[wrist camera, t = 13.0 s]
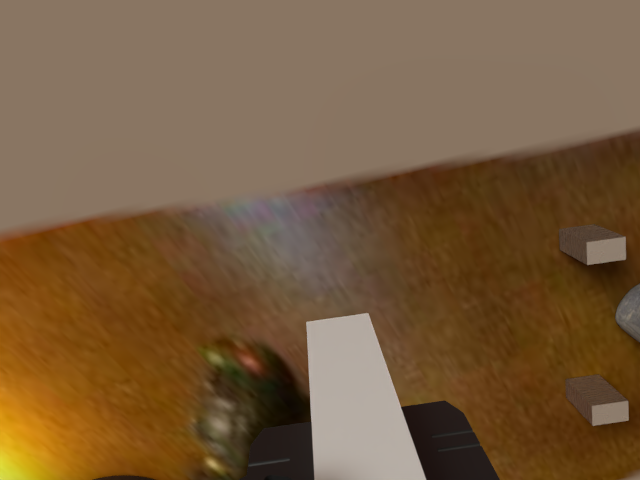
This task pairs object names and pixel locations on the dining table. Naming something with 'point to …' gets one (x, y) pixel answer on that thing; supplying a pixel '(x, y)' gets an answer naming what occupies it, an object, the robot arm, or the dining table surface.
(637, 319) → the pipe
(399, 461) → the robot arm
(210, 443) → the dining table surface
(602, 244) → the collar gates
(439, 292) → the dining table surface
